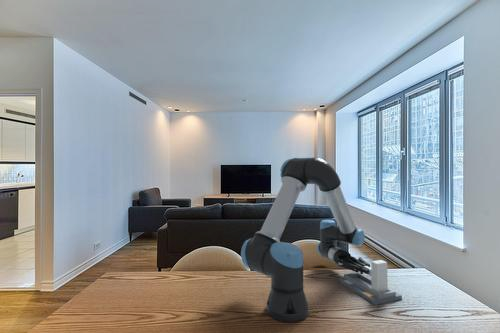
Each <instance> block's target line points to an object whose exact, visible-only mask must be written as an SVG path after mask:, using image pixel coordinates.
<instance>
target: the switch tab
mask: <svg viewBox="0 0 500 333" xmlns="http://www.w3.org/2000/svg"><path fill="white" fill-rule="evenodd" d="M370 262H371V263H370V268H371V275H372V277H371V279H372V289H373V290H374V291H376V292H378V293H385V292H388V288H389V287H388V262H387V261H385V260H383V259H379V260H372V261H370Z"/></svg>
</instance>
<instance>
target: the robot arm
mask: <svg viewBox="0 0 500 333" xmlns="http://www.w3.org/2000/svg"><path fill="white" fill-rule="evenodd" d="M280 177H281V178H280V181H281V184H282V185H281V187H280V189H279V191H278V193H277V195H276V197H275V200H274V201H273V203H272V206H271V207H270V210H269V212H268V214H267V216H266V218H265V221H264V222H263V224H262V226H261V229H260V230H259V231H255V233H254V235H253V237H252V238H249V239H246V240H245V241H244V242H243V245H242V246H241V249H240V250H241V251H240V256H241V262H242V263H243V265H244V267H246V268H247V269H250V271H252V272H257V273H258V274H262V275H265V277H270V283H271V285H270V292H269V293H268V299H267V301H266V313H267V314H268V316H269V317H270V318H272V319H274V320H277V321H280V322H285V323H296V322H299V321H303V320H305V319H306V318H308V316H309V313H310V312H309V308H310V306H309V302H308V301H307V297H306V294H305V291H304V265H305V264H304V263H305V262H304V254H303V253H304V252H303V250H302V248H300V247H299V246H298V245H297V244H293V243H291V242H285V241H280V240H281V237H282V234H283V233H284V231H285V228H286V225H287V224H288V221H289V219H290V216H291V214H292V212H293V209H294V207H295V204H296V203H297V201H298V198H299V195H300V194H301V192H304V191H305V190H306V188H307V186H308V185H316V186H317V187H318V190H319V191H320V192H322V193H323V195H324V198H325V199H326V201H327V204H328V206H329V208H330V211H331V212H332V215H333V217H334V220H332V219H322V220H321V221H320V223H319V226H320V227H319V233H320V234H319V236H320V241H318V244H317V246H316V252H317V253H318V254H319V255H320V256H321V257H323V258H325V259H327V260H329V261H332V262H333V263H334V264H335V265H338V267H340V268H344V269H347V270H349V271H352V272H353V273H356V272H359V273H360V274H363V275H364V274H366V275H368V277H371V278H372V275H371V263H369V262H367V261H366V260H365V259H363V257H361V256H360V257H358V258H356V257H355V256H353V255H351V253H349V251H347V250H345V249H342V248H341V247H339V246H336V242H339V243H344V244H348V245H353V246H362V245H363V244H364V241H365V239H366V238H365V237H366V236H365V235H366V234H365V232H364V230H362V229H360V228H357V227H356V224H355V221H354V219H353V217H352V213H351V211H350V208H349V206H348V203H347V201H346V198H345V196H344V193H343V191H342V189H341V184H342V182H341V181H342V180H341V179H340V176H339V174H338V173H337V172H336V170H335V169H334V168H333V166H332V165H331V164H330V163H328V162H327V161H326V160H325V159H323V158H320V157H293V158H289V159H286V160H284V162H283V163H282V164H281V167H280Z"/></svg>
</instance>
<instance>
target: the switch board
mask: <svg viewBox="0 0 500 333" xmlns="http://www.w3.org/2000/svg"><path fill="white" fill-rule="evenodd" d="M338 282H339V283H340V284H342V285H343V286H345V287H347V289H349V290H350V291H353V292H354V293H356V294H357V295H358V296H360V297H362V298H363V299H365V300H366V301H368V302H370V303H371V304H372V305H375V306H376V305H380V304H386V303H390V302H394V301H401V300H403V296H402V294H400V293H399V292H396V291H395V290H393V289H391V288H389V287H388V292H385V293H378V292H376V291H374V290H373V289H372V277H371V278H370V276H366V275H364V273H363V274H360V272H351V273H345V274H343V277H338Z"/></svg>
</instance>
